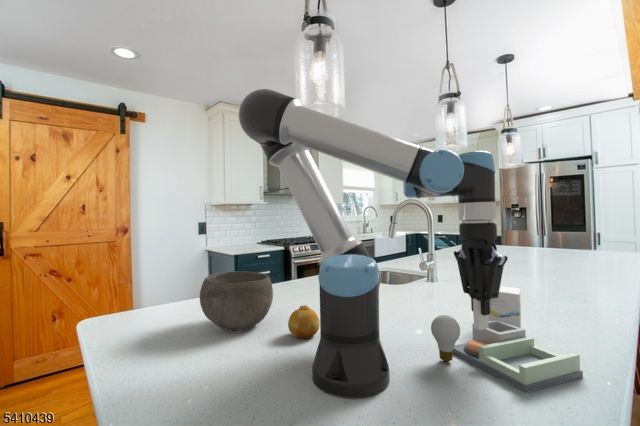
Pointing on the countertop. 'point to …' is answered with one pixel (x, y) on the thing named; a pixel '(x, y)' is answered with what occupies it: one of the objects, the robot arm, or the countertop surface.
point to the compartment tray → (519, 358)
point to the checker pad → (475, 345)
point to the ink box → (506, 306)
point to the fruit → (303, 322)
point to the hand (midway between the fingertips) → (481, 328)
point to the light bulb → (445, 335)
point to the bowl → (236, 298)
